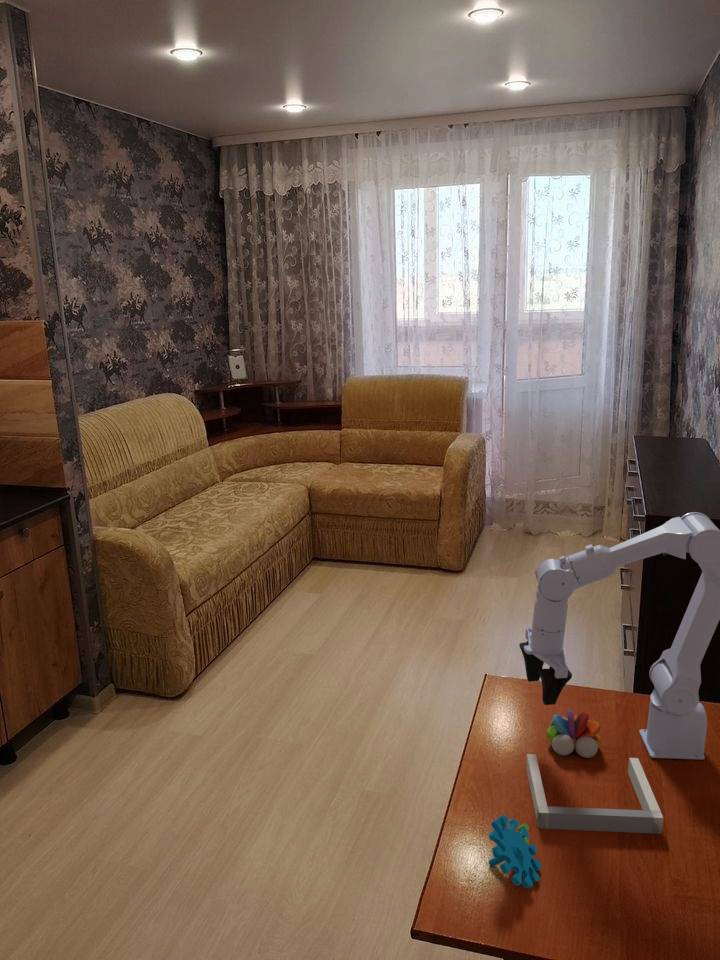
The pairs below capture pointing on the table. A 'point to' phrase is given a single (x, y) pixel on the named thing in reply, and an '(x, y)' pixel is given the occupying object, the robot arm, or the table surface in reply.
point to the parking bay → (594, 817)
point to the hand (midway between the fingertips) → (540, 691)
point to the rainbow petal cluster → (574, 734)
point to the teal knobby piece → (514, 851)
